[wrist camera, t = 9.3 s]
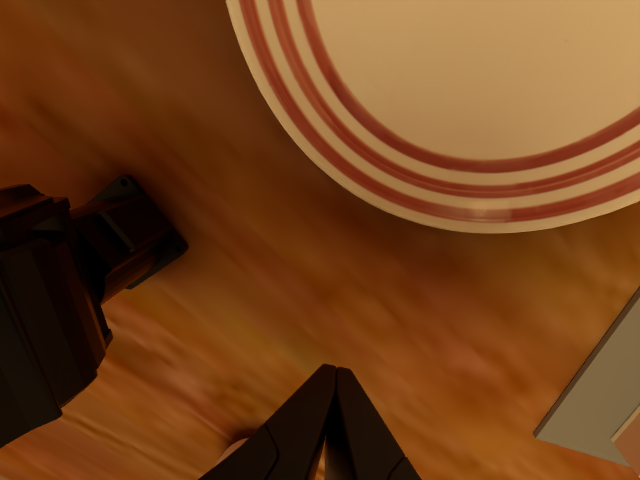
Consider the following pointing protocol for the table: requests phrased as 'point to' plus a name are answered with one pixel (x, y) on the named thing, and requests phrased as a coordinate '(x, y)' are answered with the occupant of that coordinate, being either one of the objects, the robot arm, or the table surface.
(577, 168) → the dinner plate
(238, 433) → the table surface
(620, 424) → the mat
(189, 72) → the table surface
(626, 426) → the tile
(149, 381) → the table surface
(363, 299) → the table surface
